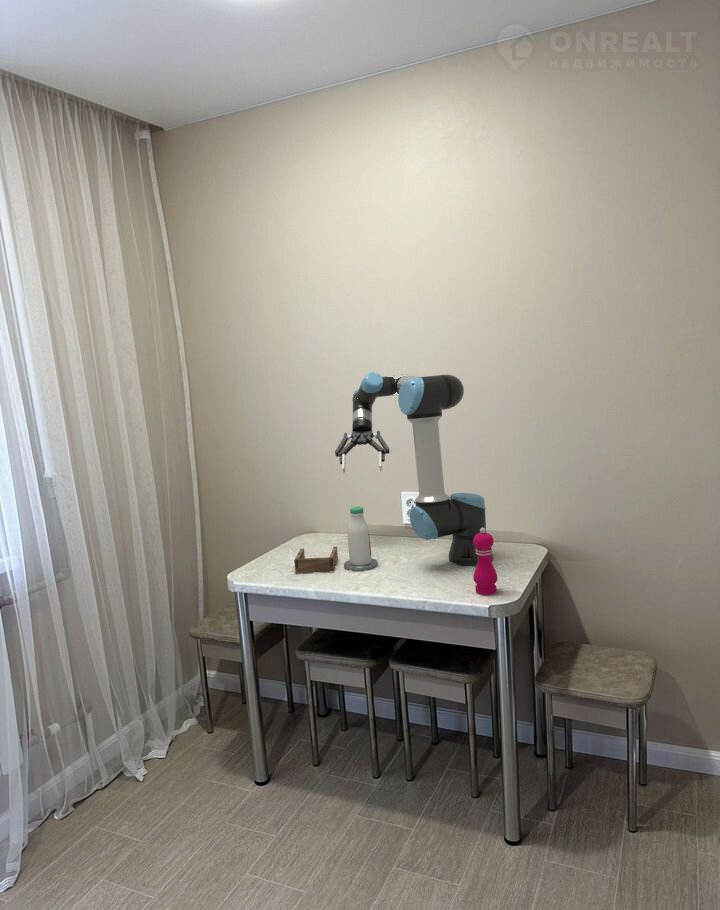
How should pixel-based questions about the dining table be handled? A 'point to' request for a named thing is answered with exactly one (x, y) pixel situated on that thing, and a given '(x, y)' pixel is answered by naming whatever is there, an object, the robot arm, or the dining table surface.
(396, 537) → the dining table surface
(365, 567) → the coaster
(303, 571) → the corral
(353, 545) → the milk bottle
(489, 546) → the pepper mill
